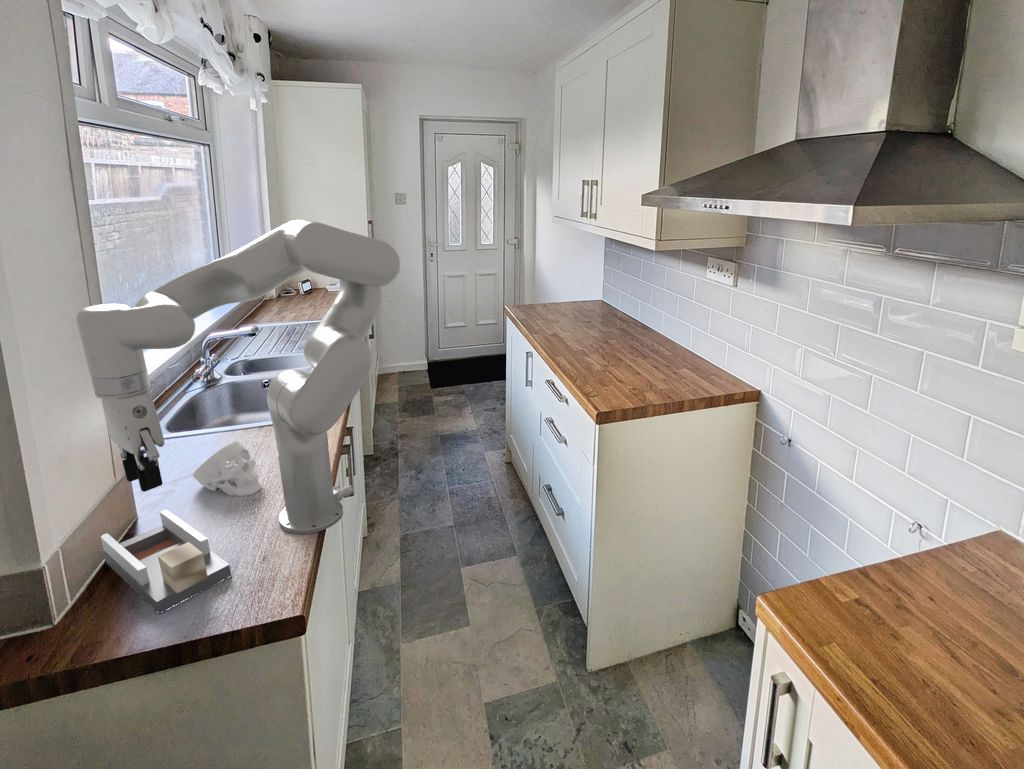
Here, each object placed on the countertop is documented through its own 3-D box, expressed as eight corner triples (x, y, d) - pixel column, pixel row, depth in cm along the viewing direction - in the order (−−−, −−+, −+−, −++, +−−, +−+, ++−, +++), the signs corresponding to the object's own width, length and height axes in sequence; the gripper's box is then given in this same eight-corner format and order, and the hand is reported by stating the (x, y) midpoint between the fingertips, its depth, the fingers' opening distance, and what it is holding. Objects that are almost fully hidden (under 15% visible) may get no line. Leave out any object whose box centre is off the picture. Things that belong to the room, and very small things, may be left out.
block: (193, 566, 101) (188, 541, 100) (207, 577, 99) (202, 552, 97) (163, 581, 98) (157, 556, 96) (177, 593, 95) (171, 567, 93)
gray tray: (104, 562, 106) (97, 536, 104) (173, 532, 115) (167, 508, 113) (159, 614, 94) (152, 586, 92) (231, 576, 103) (226, 550, 101)
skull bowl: (247, 499, 125) (214, 451, 123) (209, 519, 131) (177, 474, 129) (280, 476, 134) (249, 431, 132) (243, 496, 140) (214, 453, 138)
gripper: (170, 387, 91) (191, 489, 97) (125, 366, 101) (146, 461, 107) (117, 400, 85) (143, 508, 92) (74, 377, 95) (100, 476, 101)
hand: (144, 482), depth 99 cm, fingers open, 4 cm apart
